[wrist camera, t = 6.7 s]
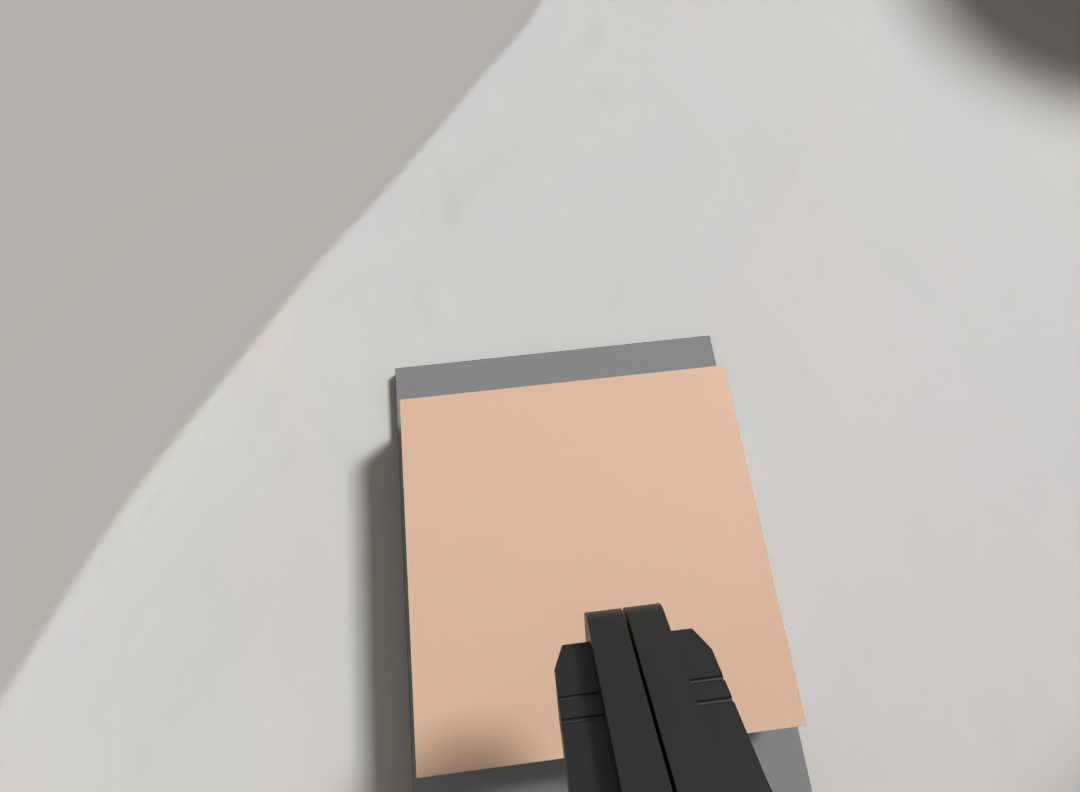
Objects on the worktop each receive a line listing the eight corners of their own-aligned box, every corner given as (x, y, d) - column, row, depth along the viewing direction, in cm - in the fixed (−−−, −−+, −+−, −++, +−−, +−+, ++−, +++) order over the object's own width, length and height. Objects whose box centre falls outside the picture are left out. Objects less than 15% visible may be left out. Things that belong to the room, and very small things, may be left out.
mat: (706, 340, 21) (709, 335, 21) (815, 830, 17) (821, 836, 16) (397, 372, 21) (395, 368, 20) (420, 887, 16) (417, 894, 16)
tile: (776, 711, 17) (706, 386, 20) (806, 725, 15) (723, 365, 18) (429, 757, 17) (412, 418, 20) (416, 778, 15) (399, 399, 18)
